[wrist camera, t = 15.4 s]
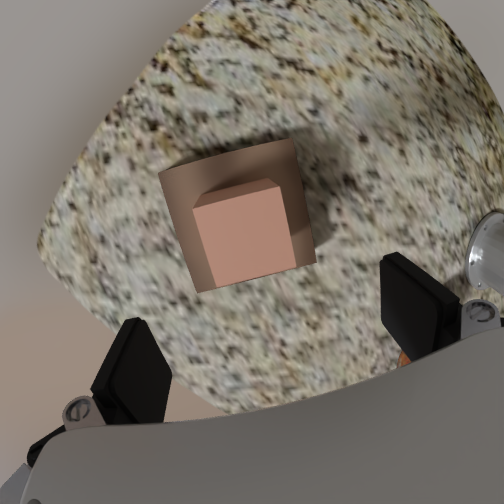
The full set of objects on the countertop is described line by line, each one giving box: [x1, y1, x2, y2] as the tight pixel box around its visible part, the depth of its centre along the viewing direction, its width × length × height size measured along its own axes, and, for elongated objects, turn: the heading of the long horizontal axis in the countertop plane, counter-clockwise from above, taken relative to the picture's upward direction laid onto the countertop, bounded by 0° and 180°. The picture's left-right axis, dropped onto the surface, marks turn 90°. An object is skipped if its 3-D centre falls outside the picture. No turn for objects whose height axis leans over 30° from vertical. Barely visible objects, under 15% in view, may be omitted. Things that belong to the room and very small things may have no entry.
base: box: [158, 138, 317, 293], centre depth 27 cm, size 12×12×3 cm
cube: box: [192, 178, 296, 287], centre depth 23 cm, size 6×6×6 cm
